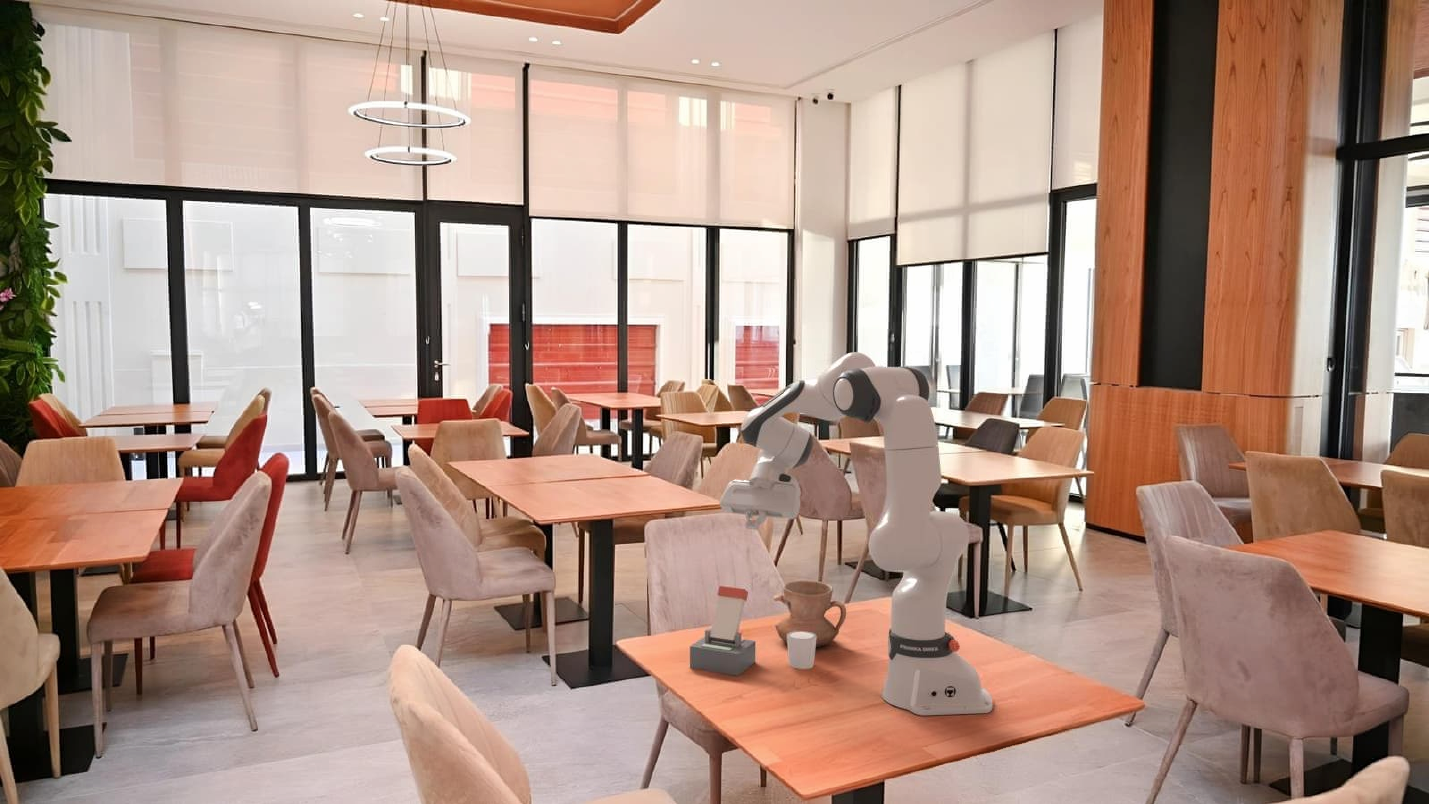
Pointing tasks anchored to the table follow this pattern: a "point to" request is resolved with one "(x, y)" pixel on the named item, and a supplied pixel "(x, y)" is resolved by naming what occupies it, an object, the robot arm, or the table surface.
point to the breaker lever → (728, 614)
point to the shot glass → (801, 649)
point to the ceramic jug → (809, 610)
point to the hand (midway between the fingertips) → (751, 528)
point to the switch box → (722, 655)
